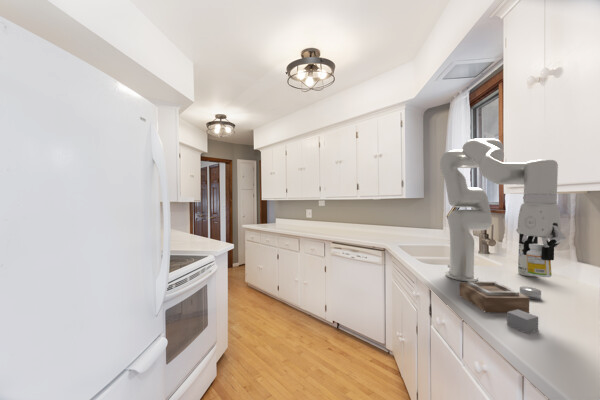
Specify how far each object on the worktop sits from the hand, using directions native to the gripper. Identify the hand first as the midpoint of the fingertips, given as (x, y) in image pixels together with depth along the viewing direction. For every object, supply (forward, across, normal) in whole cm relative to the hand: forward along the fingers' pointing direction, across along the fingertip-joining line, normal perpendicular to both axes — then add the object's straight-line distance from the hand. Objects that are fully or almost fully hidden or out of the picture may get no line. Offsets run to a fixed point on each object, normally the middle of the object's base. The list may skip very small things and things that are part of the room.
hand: (538, 256), depth 79 cm
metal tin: (+19, -16, +12) cm, 28 cm away
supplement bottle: (+6, +1, 0) cm, 6 cm away
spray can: (+20, -42, +34) cm, 57 cm away
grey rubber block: (+19, +6, -10) cm, 23 cm away
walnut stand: (+19, -10, -7) cm, 23 cm away
